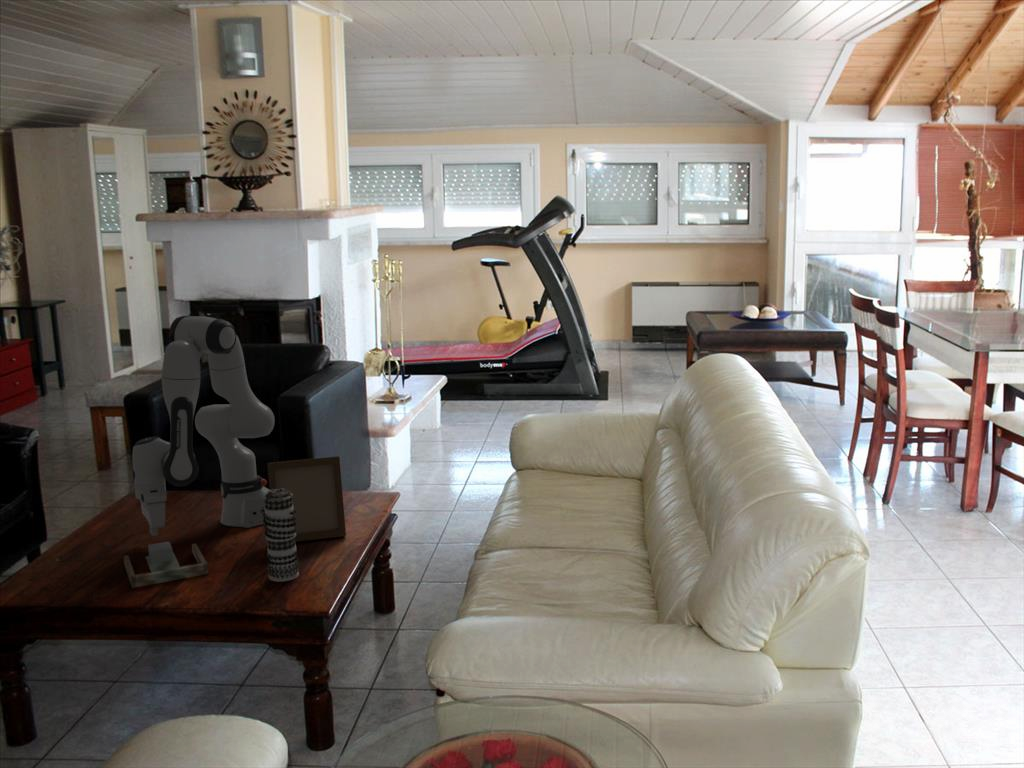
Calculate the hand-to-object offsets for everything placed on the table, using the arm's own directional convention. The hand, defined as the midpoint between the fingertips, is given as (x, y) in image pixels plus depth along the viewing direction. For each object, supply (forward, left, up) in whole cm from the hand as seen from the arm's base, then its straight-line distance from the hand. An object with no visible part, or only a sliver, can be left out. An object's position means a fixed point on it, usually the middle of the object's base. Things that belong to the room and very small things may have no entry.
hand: (154, 534), depth 303 cm
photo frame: (-44, +13, -5) cm, 46 cm away
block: (0, +11, -4) cm, 11 cm away
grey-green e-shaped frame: (0, +18, -4) cm, 18 cm away
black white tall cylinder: (-29, +42, -5) cm, 51 cm away
